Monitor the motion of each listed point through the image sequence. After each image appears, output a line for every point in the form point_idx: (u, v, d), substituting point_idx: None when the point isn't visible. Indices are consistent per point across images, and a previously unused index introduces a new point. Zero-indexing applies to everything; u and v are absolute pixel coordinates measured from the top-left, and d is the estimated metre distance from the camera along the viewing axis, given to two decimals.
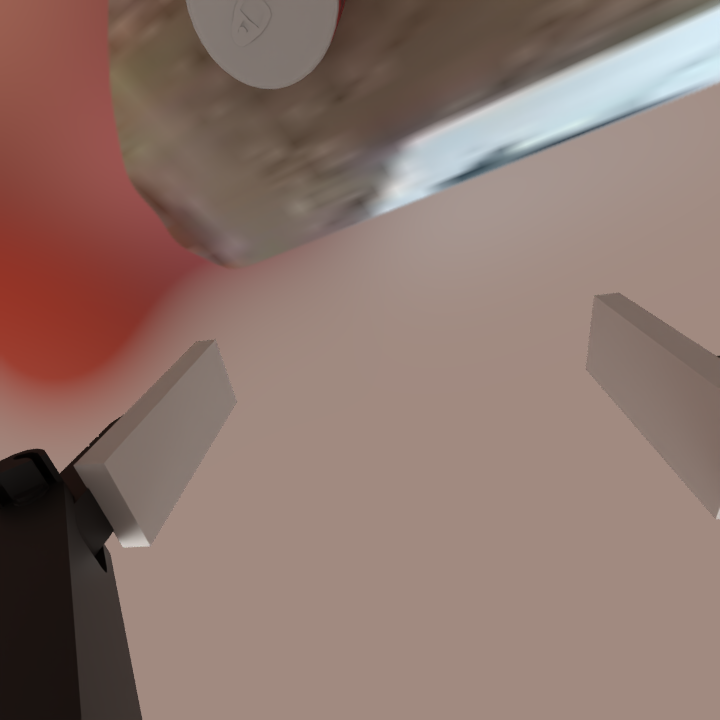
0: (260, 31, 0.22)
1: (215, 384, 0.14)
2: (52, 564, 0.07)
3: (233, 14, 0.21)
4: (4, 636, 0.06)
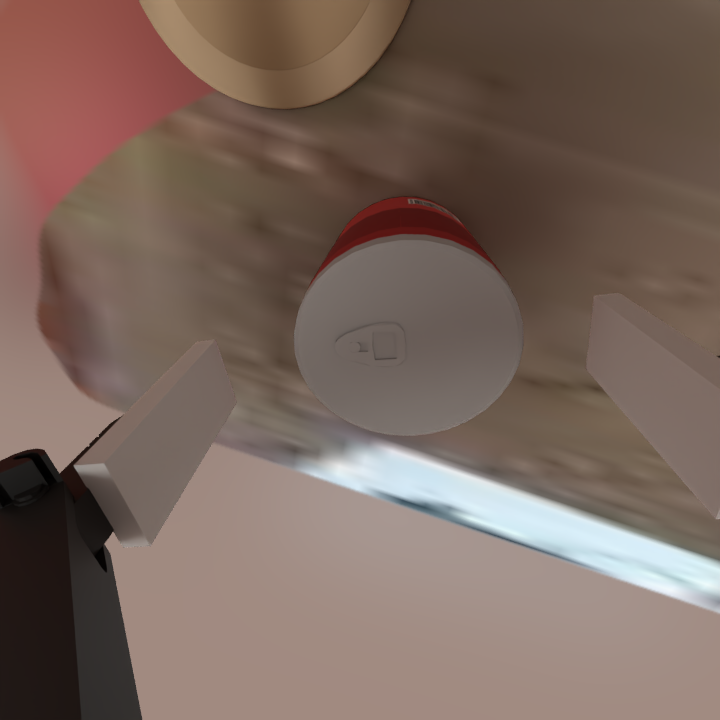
0: (374, 363, 0.15)
1: (215, 384, 0.14)
2: (52, 564, 0.07)
3: (360, 327, 0.14)
4: (4, 636, 0.06)
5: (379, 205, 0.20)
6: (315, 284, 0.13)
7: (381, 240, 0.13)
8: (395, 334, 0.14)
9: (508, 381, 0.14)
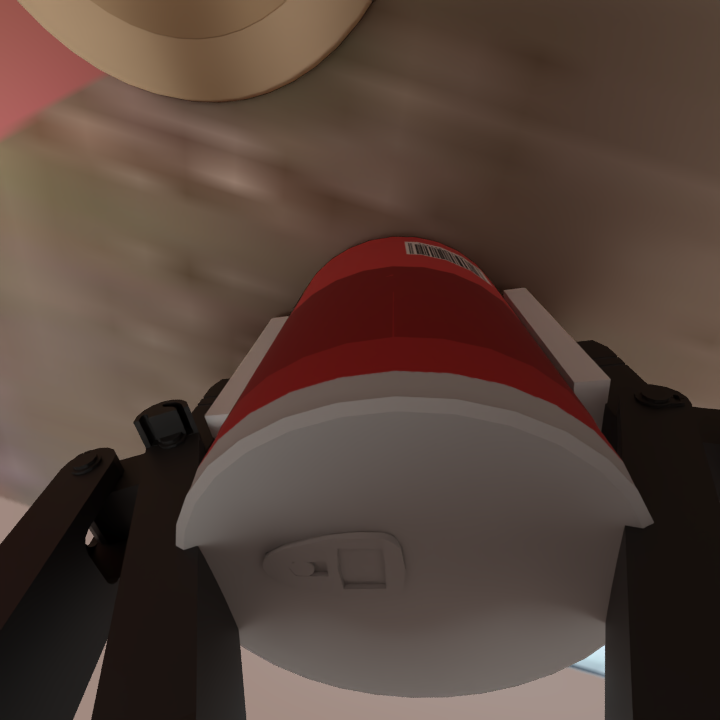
0: (342, 588, 0.08)
1: None
2: None
3: (312, 538, 0.07)
4: (142, 565, 0.07)
5: (360, 253, 0.13)
6: (205, 474, 0.06)
7: (348, 386, 0.06)
8: (383, 553, 0.07)
9: None
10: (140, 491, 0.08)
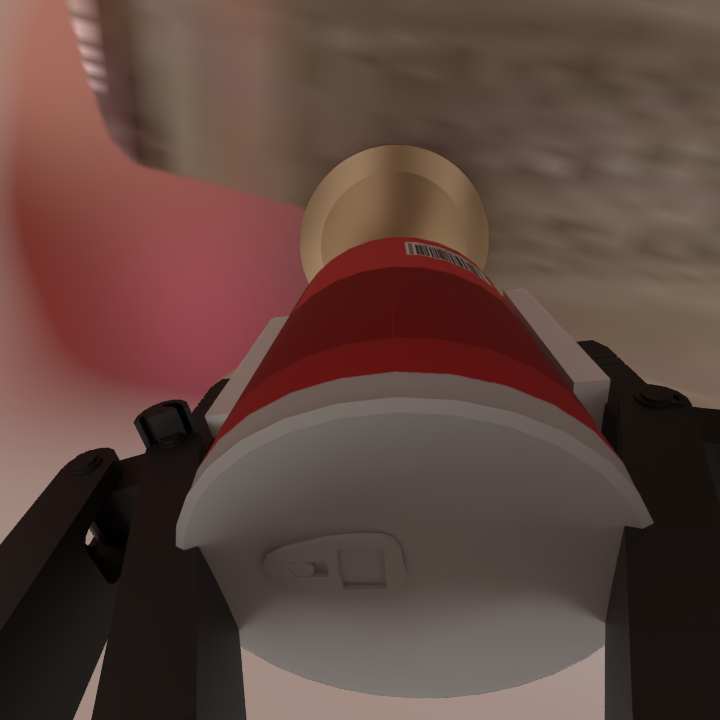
0: (342, 589, 0.08)
1: None
2: None
3: (312, 539, 0.07)
4: (143, 565, 0.07)
5: (360, 253, 0.13)
6: (205, 475, 0.06)
7: (349, 387, 0.06)
8: (384, 553, 0.07)
9: None
10: (140, 491, 0.08)
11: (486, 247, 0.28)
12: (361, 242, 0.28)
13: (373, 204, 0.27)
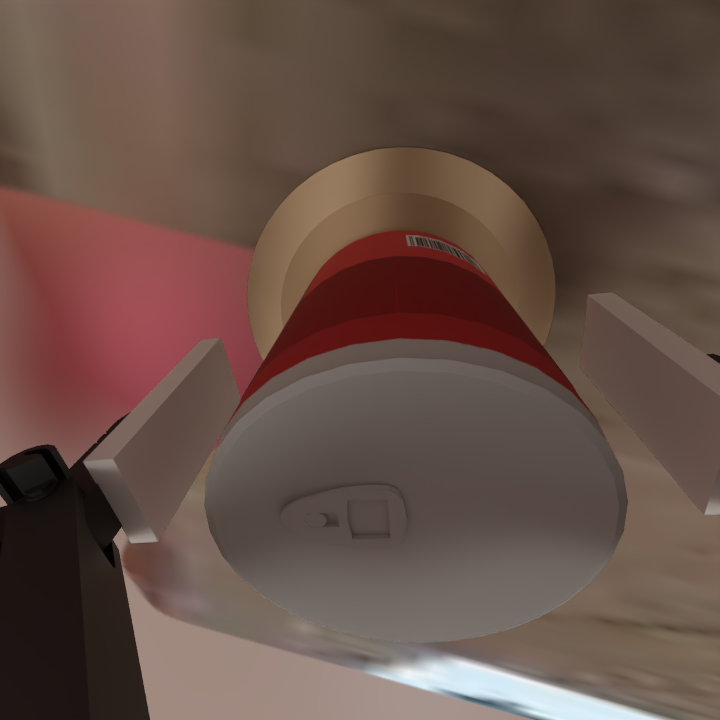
0: (350, 540, 0.09)
1: (220, 382, 0.15)
2: (61, 559, 0.07)
3: (325, 491, 0.08)
4: (14, 630, 0.06)
5: (364, 245, 0.14)
6: (234, 429, 0.07)
7: (358, 351, 0.07)
8: (388, 503, 0.08)
9: (589, 581, 0.08)
10: (4, 552, 0.07)
11: (549, 314, 0.17)
12: None
13: None
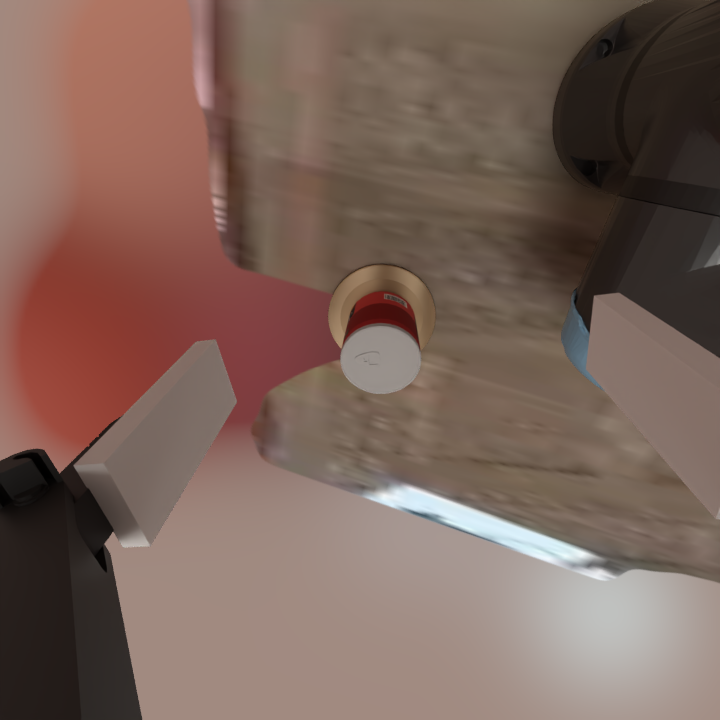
0: (368, 365, 0.41)
1: (215, 384, 0.14)
2: (52, 564, 0.07)
3: (364, 353, 0.40)
4: (4, 636, 0.06)
5: (371, 297, 0.46)
6: (350, 338, 0.39)
7: (372, 325, 0.39)
8: (377, 355, 0.40)
9: (416, 373, 0.40)
10: None
11: (433, 319, 0.49)
12: None
13: None
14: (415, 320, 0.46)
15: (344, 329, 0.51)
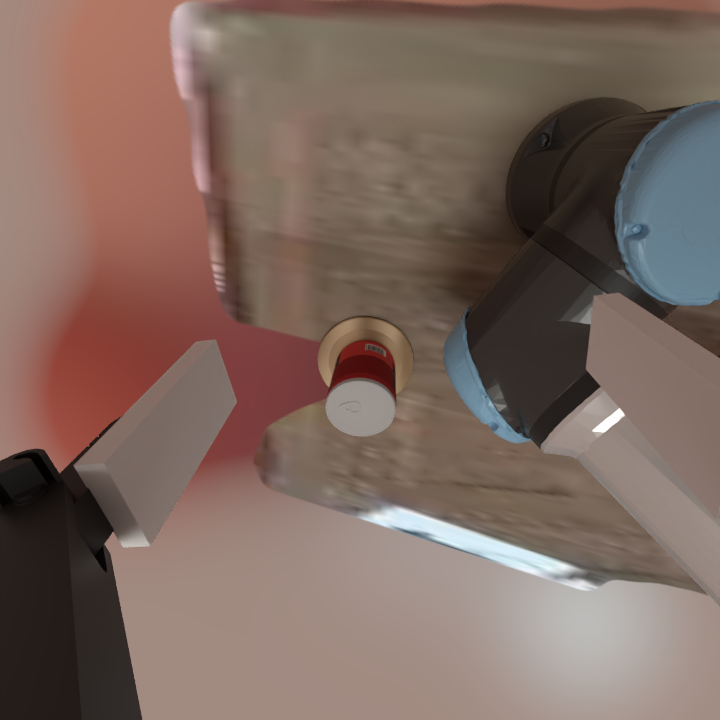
0: (350, 412, 0.47)
1: (215, 384, 0.14)
2: (52, 564, 0.07)
3: (346, 402, 0.46)
4: (4, 636, 0.06)
5: (354, 347, 0.52)
6: (332, 391, 0.45)
7: (351, 379, 0.45)
8: (357, 404, 0.46)
9: (392, 419, 0.46)
10: None
11: (412, 362, 0.55)
12: None
13: None
14: (394, 366, 0.52)
15: (332, 372, 0.57)
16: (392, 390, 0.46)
